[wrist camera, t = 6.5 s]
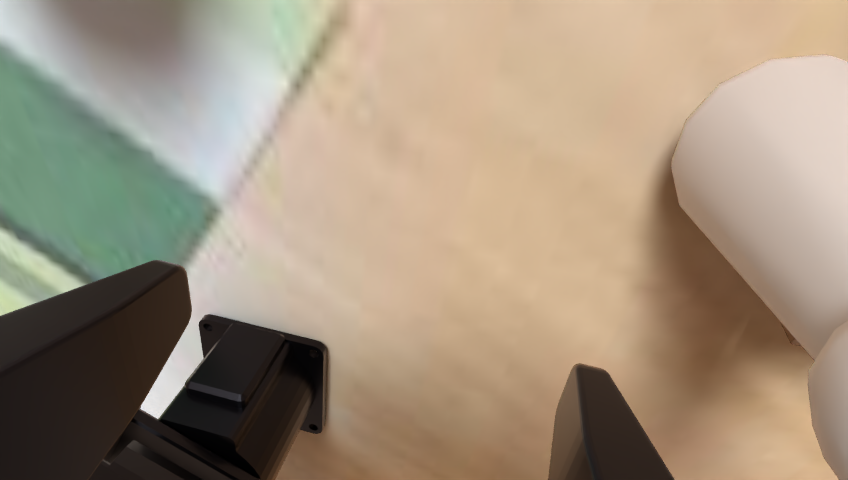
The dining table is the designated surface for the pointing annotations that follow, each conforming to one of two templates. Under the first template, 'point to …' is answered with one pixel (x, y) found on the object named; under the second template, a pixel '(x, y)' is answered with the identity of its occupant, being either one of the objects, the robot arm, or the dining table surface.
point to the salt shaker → (782, 210)
